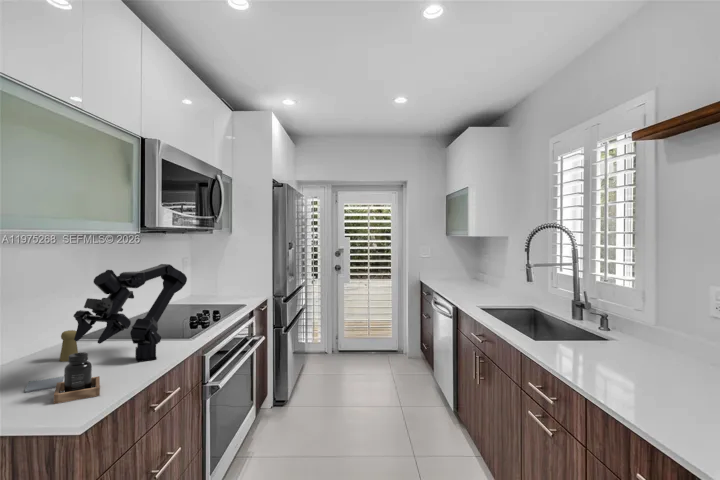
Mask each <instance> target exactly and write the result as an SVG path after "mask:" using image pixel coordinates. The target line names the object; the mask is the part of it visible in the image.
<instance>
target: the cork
mask: <svg viewBox="0 0 720 480" xmlns="http://www.w3.org/2000/svg"><path fill="white" fill-rule="evenodd" d="M76 331H77V330H75V329H74V330H73V329H70V330H65V331H63V332H62V333H61V334H60V338H61V340H62V343H61V350H60V356H59V362H63V363H64V362H68V360H69V355H71V354H75V353H79V350H78V344H77V343H78V341H75V340H74V338H75V335H76Z"/></svg>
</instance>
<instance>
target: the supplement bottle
mask: <svg viewBox="0 0 720 480" xmlns="http://www.w3.org/2000/svg"><path fill="white" fill-rule="evenodd" d="M67 362H68V364H66V365H65V367H64V370H63V371H64V374H63V375H64V378H63V382H64V391H63V393H64V392H70V391H76V390H82V389H88V388H93V386H92V376H93V375H92V371H93V370H92V369H93V366H92V363H91V362H90V361H89V353H88V352H78V353H75V354H71V355H69V360H68V361H67Z"/></svg>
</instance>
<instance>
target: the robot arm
mask: <svg viewBox="0 0 720 480" xmlns="http://www.w3.org/2000/svg"><path fill="white" fill-rule="evenodd" d="M159 277H160V278H161V279H162V290H161V291H160V293H159V294H158V296H157V297H156V299H155V300H154V302H153V304H152V305H151V307H150V309H149V310H148V311H147V313H146V315H145V317H143V318H137V319H136V320H135V322H134V324H133V325H132V324H131V323H132V321H131V319H130V318H128V316H127V315H126V314H124V313H123V311H124V308H123V307H124V305H125V304H126V302H127V300H128V299H131V300H133V299H135V295H134V291H133V290H130V289H138V288H140V287H142V286H144V285H145V284H146V282H147V281H150V280H153V279H156V278H159ZM187 281H188V278H187V276H186V274H185V273H183V272H182V271H181V270H179V269H177V268H175V267H174V266H173V265H172V264H167V263H161V264H158V265H156V266H152V267H149V268H146V269H142V270H139V271H138V270H137V271H123V272H121V273H119V275H118V276H117V274H116V273H115V272H114V270H112V269H106V270H105V271H103V272H101V273H99V274H98V275H96V276H95V277H94V279H93V285H95V286H96V287H97V288H98V290H100V291H101V292H102V293H104V294H105V295H108V296H107V297H102V298H101V299H98V298H86V300H85V303H84V306H83V309H89V310H91V312H92V313H91V312H90V311H89V310H82V309H80V310H76V312H75V313H74V314H73V317H74V319H75V321H76V322H77V328H76V330H75V331H76V335H75V338H74V340H75V341H76V342H78V341H79V340H81V339H82V338H83V337H84V336H86V334H87V333H88V332H89V331H90V330H91V329H92V328H93V327H94V326H93V325H95V323H97V322H99V323H100V322H101V323H106V327H105V328H104V329H103V331H102V333H101V335H100V336H99V338H98V340H97V344H98V345H101V344H102V343H103V342H105V341H107V340H108V339H110V338H111V337H113V336H115V335H117V334H118V333H120V332H121V331H122V332H123V331H125V329H126V330H128V329H129V328H130V326H131V325H132V326H131V329H130V337H131V338H130V339H131V340H132V344H134V345H136V346H135V359H136V361H137V362H148V361H153V360H154V361H155V360H157V359H158V357H157V345H159V343H161V340H162V336H161V335H160V334H159V333H158V330H159V328H158V327H159V325H158V322H159V320H160V319H161V317H162V315H163V313H164V311H166V308H168V305H169V304H170V302H171V300H172V298H173V296H175V294H176V293H178V292H179V291H181V290H183V287H185V285H186V284H187ZM120 312H121V313H120Z"/></svg>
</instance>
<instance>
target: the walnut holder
mask: <svg viewBox="0 0 720 480" xmlns="http://www.w3.org/2000/svg"><path fill="white" fill-rule="evenodd" d="M100 378H101V377H100V376H98V375H97V376H93V377H92V388H88V389H82V390H76V391H70V392H64V381H63V382H59V383H57V385H56V388H54V393H53V405H55V404H61V403H68V402H71V401H78V400H85V399H89V398H95V397H100V396H101V395H100V393H101V381H100ZM94 386H95V387H94Z"/></svg>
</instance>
